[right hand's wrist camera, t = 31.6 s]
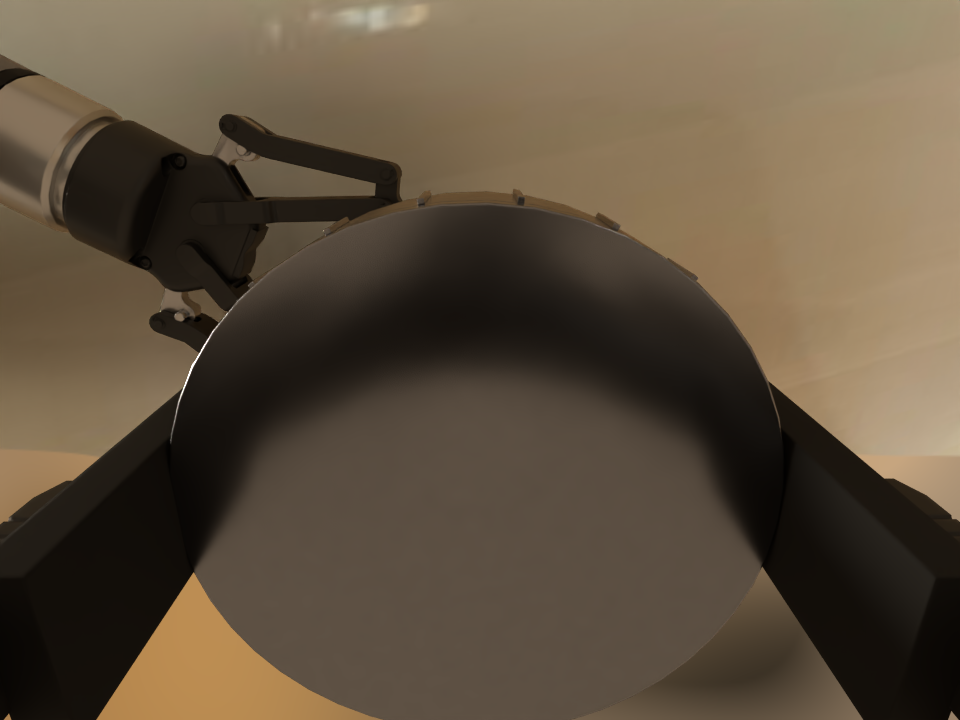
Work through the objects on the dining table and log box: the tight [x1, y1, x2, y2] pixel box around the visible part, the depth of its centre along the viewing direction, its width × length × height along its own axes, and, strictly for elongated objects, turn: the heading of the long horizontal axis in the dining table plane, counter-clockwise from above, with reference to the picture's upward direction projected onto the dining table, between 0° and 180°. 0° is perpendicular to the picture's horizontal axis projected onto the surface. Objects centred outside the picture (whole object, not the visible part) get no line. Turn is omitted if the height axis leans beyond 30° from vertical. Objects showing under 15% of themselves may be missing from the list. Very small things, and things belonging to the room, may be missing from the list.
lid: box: [169, 189, 784, 720], centre depth 11 cm, size 11×11×2 cm
